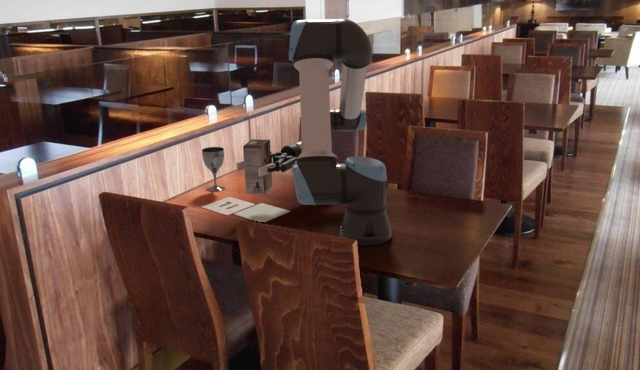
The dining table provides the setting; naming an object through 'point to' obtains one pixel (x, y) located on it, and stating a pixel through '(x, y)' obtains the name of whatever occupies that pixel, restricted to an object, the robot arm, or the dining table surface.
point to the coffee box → (257, 166)
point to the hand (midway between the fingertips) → (248, 169)
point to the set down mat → (261, 212)
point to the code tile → (228, 206)
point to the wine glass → (213, 164)
